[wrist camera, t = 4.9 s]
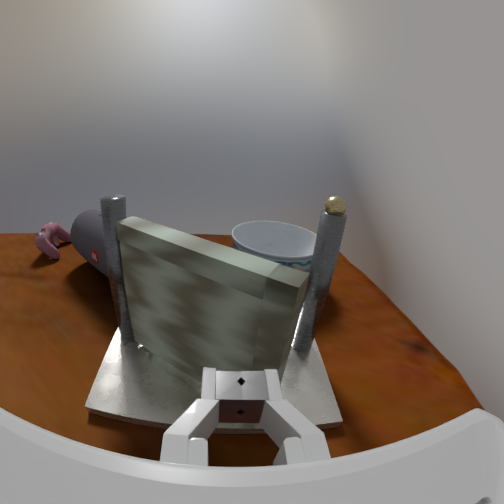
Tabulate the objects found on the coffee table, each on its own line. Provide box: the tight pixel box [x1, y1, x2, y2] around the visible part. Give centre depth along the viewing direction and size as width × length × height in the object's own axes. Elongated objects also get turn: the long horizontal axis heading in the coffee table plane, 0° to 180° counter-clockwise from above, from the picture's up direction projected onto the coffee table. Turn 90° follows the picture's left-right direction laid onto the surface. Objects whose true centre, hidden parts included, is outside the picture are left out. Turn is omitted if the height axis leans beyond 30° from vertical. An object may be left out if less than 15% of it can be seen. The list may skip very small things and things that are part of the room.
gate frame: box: [85, 195, 347, 434], centre depth 23 cm, size 24×16×19 cm, turn 94°
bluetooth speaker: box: [70, 210, 109, 278], centre depth 39 cm, size 23×9×10 cm, turn 58°
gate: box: [116, 216, 310, 384], centre depth 22 cm, size 16×2×14 cm, turn 62°
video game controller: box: [35, 222, 71, 259], centre depth 45 cm, size 10×5×7 cm, turn 15°
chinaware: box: [232, 221, 317, 273], centre depth 46 cm, size 15×15×8 cm
